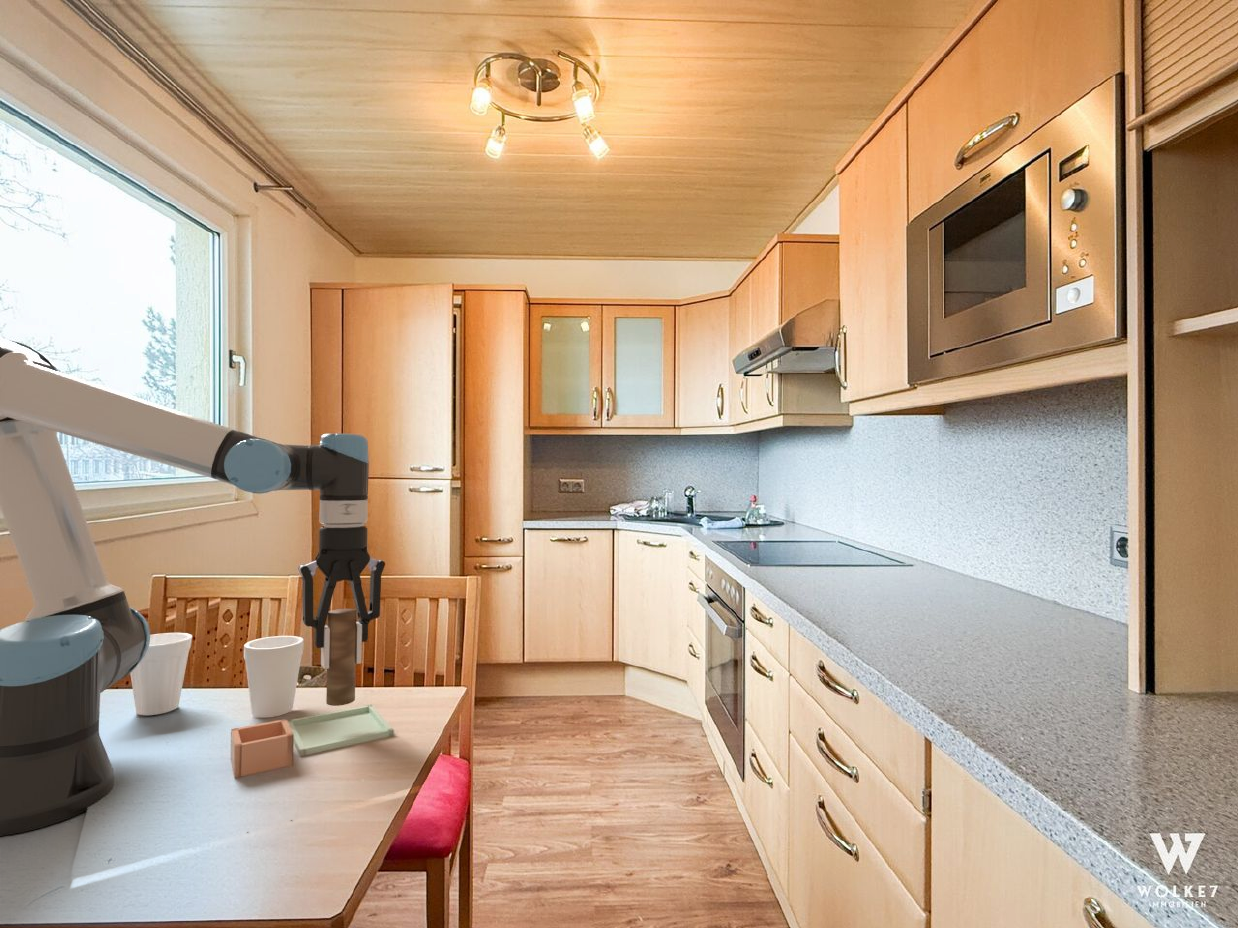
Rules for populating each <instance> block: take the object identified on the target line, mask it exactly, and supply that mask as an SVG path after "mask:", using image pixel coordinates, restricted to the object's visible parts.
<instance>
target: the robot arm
mask: <svg viewBox="0 0 1238 928" xmlns="http://www.w3.org/2000/svg"><path fill="white" fill-rule="evenodd" d="M58 433H60V434H63V435H66V436H70V437H72V438H78V439H81V440H83V441H87V442H90V443H94V444H97V445H100V446H104V447H107V448H110V449H114V450H117V451H121V452H123V453H127V454H131V455H134V456H137V457H140V458H143V459H147V460H150V461H154V462H157V463H160V464H164V465H167V466H170V467H174V468H178V469H181V470H184V471H187V472H190V473H194V474H197V475H199V476H204V477H208V478H210V479H213V480H217V481H219V482H223V483H226V484H229V485H233V486H234V487H236V488H238V490H239V489H240V490H241V491H244V492H247V493H250V494H251V493H252V494H267V493H270V492H275V491H276V492H277V491H306V490H309V491H315V490H316V491H319V513H318V514H319V517H318V518H319V520H318V523H320V524H321V525H322V526H321V527H320V528H319V529H318V553H317V555H316V557H315V559H314V560H313V561H311V562H308V563H307V564H300V565H298V571H299V574H300V576H301V579H302V623H303V624H304V625H305V626H306V627H311V628H314V647H316V648H317V649H320V651H321V652H320V653H321V654H320V665H321V667H322V668H323V670H327V668H329V646H330V628H329V627H328V624H326V623H327V621H328V612H329V611H330V607H331V604H332V600H333V599H332V598H333V596H334V591H335V589H336V587H337V582H342V581H349V585H350V589H351V592H352V596H353V601H354V607H355V610H356V616H357V619H358V621H356V665H358V664H362V649H363V647H362V646H363V644H362V643H365V642H367V641H368V638H369V624H370V622H371V621H372V620H375V619H378V618H380V615H381V597H382V596H381V593H382V592H381V590H382V587H381V586H382V573H383V571H384V568H385V566H386V562H385V561H383V560H381V559H375V558H373V557H371V555H370V554H369V552H368V527H367V526H366V525H364V524H367V522H368V517H369V515H368V513H369V512H368V509H369V508H368V507H369V506H368V505H369V504H368V500H369V498H368V497H369V496H368V494H369V472H370V470H369V469H370V468H369V467H370V460H369V456H370V455H369V441H368V439H367V438H366V437H365V436H364V435H361V434H356V433H355V434H353V433H324V434H322V435H321V437H320V441H319V444H314V445H304V444H303V445H301V444H300V445H299V444H298V445H297V444H282V443H277V442H274V441H271V440H269V439H266V438H261V437H258V436H255V435H252V434H248V433H246V432H244V431H243V432H242V431H239V430H235V429H234V428H230V427H227V426H223V425H221V424H218V423H215V422H212V421H209V420H206V419H203V418H199V417H196V416H193V415H190V414H187V413H185V412H182V411H178V410H175V409H171V408H169V407H166V406H163V405H159V404H157V403H153V402H151V401H147V400H144V399H141V398H138V397H135V396H132V395H130V394H126V393H123V392H120V391H117V390H114V389H110V388H107V387H104V386H102V385H99V384H95V383H92V382H90V381H86V380H84V379H80V378H78V377H74V376H71V375H68V374H65V373H62V371H61V370H60V369H59V367H58V365H56V364H55V363H54V362H53V361H52V360H51V359H50V358H49V357H47V356H46V355H44V354H43V353H42V352H40V351H38V350H37V349H35V348H33V347H31V346H29V345H26V344H25V343H22V342H18V341H14V340H9V339H4V338H2V337H0V511H1V514H2V516H3V519H4V522H5V524H6V525H5V526H6V527H7V530H8V532H9V536H10V539H11V541H12V544H13V546H14V549H15V552H16V555H17V558H18V561H19V563H20V566H21V569H22V572H23V575H24V578H25V580H26V583H27V587H28V590H29V591H30V594H31V597H32V600H33V607H32V608H31V609H30V611H29V613H28V614H27V615H26V617H25V618H24V621H21V622H16V623H15V624H11V625H9V626H6V627H3V628H1V629H0V836H7V835H8V836H9V835H13V834H19V833H23V832H24V833H26V832H29V831H32V830H37V829H42V828H44V827H47V826H51V825H54V824H57V823H60V822H63V821H66V820H68V819H70V818H74V817H75V816H77V815H80V814H82V813H85V812H86V811H88V808H89V807H91V806H93V805H94V804H97V803H98V802H100V801H101V800H102V799H104V798H105V797H106V796H108V795H109V794H110V792H111V791H112V790H113V788H114V782H115V781H114V780H115V772H114V768H113V765H112V763H111V761H110V758H109V756H108V752H107V749H106V748H105V746H104V743H103V740H102V739H101V736H100V714H101V712H100V710H101V709H100V708H101V693H103V692H104V691H105V690H107V689H109V688H110V687H111V686H113V685H114V684H116V683H118V682H120V681H122V680H123V679H124V678H126V677H127V676H129V675H130V673H131V672H132V671H133V670H134V669H135V668H136V666H137V665H138V664H139V663H140V661H141V660H142V659H143V657H144V656H145V654H146V652H147V650H148V647H149V643H150V635H151V630H150V625H149V623H148V621H147V620H146V618H145V617H144V616H143V614H141V612H139V611H138V610H136V609H134V608H132V607H130V605H129V601H128V598H127V596H126V593H125V590H124V588H122V587H119V586H117V585H114V584H113V583H112V584H111V583H110V582H108V580H107V577H106V574H105V571H104V568H103V564H102V562H101V560H100V556H99V553H98V551H97V547H96V545H95V542H94V540H93V536H92V533H91V531H90V528H89V525H88V522H87V519H86V516H85V514H84V511H83V508H82V505H81V502H80V498H79V496H78V493H77V489H76V488H75V487H76V486H75V484H74V482H73V479H72V475H71V473H70V470H69V467H68V464H67V461H66V458H65V456H64V453H63V450H62V447H61V444H60V441H59V438H58ZM367 565H368V569H369V571H370V575H369V576H370V577H369V578H370V581H369V607H367V605H366V599H365V596H364V591H363V586H362V580H361V574H362V572H363V571H364V570H365V568H366V567H367ZM317 568H319V570H320V571H321V573H322V574H323V575H324V576H325V577H324V580H323V588H322V591H321V596H320V599H319V604H318V607H317V611H316V615H315V618H314V579H313V577H314V576H315V575H316V573H317V572H316V570H317Z"/></svg>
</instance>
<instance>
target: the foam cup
mask: <svg viewBox="0 0 1238 928" xmlns="http://www.w3.org/2000/svg"><path fill="white" fill-rule="evenodd" d="M304 642H305V641H304V638H303V637H301V636H295V635H277V636H276V635H275V636H267V637H261V638H257V639H253V640H250V641H247V642H246V643H245V644H244V645H243V659H244V661H245V670H246V676H247V677H246V678H247V685H248V687H247V688H248V692H249V702H250V711H251V716H252V718H253V719H257V718H260V719H261V718H265V719H266V718H268V719H269V718H274V717H275V718H276V717H279V716H284V715H286V714H288V713H291V712H293V709H294V705H295V697H296V689H297V686H298V685H297V684H298V680H299V679H298V678H299V673H300V668H301V667H300V666H301V660H302V656H303V655H302V654H303V653H304Z"/></svg>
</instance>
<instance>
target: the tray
mask: <svg viewBox="0 0 1238 928" xmlns="http://www.w3.org/2000/svg"><path fill="white" fill-rule="evenodd" d="M287 722H288V724H289V726H290V728H291V730H292V732H293V734H294V741H293V746H294V747H295V749H296V751H297V754H298V756H299V757H303V756H308V755H312V754H317V753H321V752H325V751H330V750H335V749H339V748H344V747H348V746H352V745H358V744H361V743H366V742H371V741H375V740H381V739H384V738H389V737H393V736H394V730H395V729H394V728H392V726H391V725H390V724H389V723H388V721H387V720H386V719H385V718H384V717H383V716H382V715H381V714H380V713H379V711H378V710H377V709H376V708H375V706H374V705H373V704H368V705H362V706H356V707H353V708H346V709H340V710H336V711H331V712H326V713H319V714H314V715H309V716H304V717H299V718H298V717H297V718H291V719H288V720H287Z"/></svg>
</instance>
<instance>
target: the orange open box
mask: <svg viewBox="0 0 1238 928" xmlns="http://www.w3.org/2000/svg"><path fill="white" fill-rule="evenodd" d="M293 741H294V734H293V732H292V730H291V728H290V726H289V724H288V722H287V718H284V719H280V720H273V721H267V722H263V723H258V724H253V725H252V724H251V725H245V726H241V727H236V728H231V731H230V764H231V768H232V769H231V770H232V772H233V777H234V779H237V778H243V777H248V776H251V775H257V774H260V773H264V772H265V773H266V772H269V771H273V770H277V769H281V768H282V769H283V768H286V767H292V766H294V743H293Z"/></svg>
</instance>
